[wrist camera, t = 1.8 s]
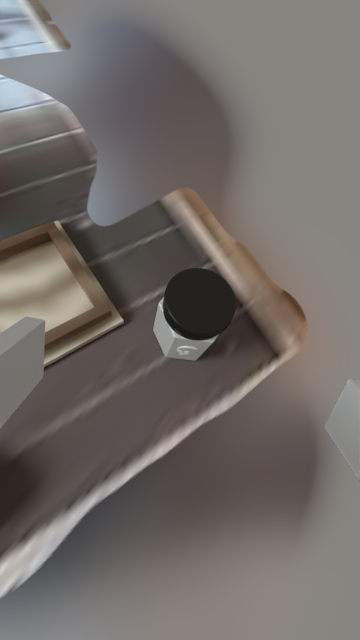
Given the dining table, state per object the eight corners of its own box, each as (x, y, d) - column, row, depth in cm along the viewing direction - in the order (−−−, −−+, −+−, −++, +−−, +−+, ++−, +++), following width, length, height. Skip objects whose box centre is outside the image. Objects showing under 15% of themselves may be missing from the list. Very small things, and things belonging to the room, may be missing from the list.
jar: (149, 356, 39) (156, 328, 28) (156, 305, 42) (164, 261, 31) (210, 364, 40) (240, 339, 29) (212, 313, 43) (240, 273, 32)
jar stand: (-72, 275, 38) (-87, 263, 36) (59, 224, 45) (54, 211, 42) (-12, 398, 34) (-24, 395, 31) (123, 323, 40) (123, 315, 38)
